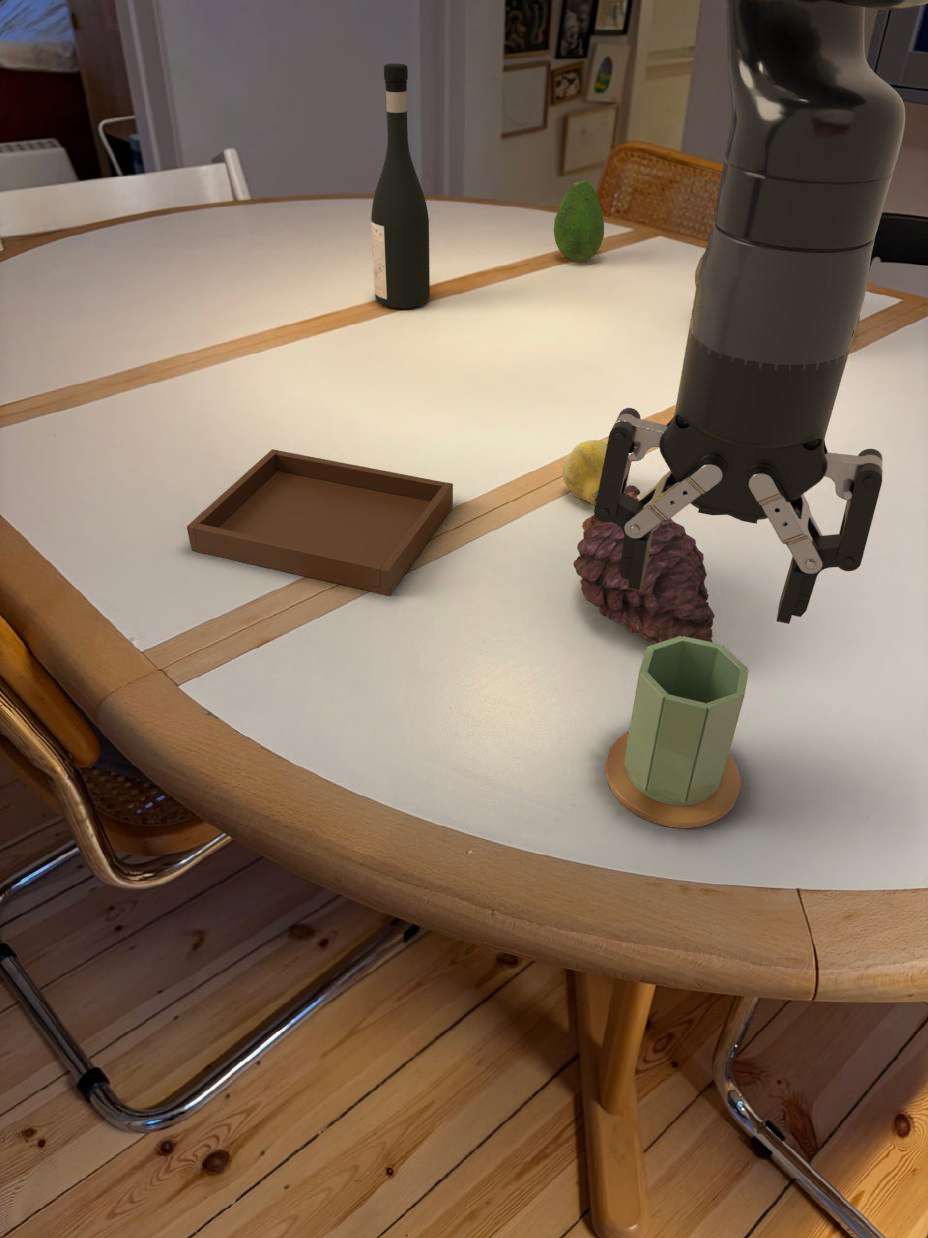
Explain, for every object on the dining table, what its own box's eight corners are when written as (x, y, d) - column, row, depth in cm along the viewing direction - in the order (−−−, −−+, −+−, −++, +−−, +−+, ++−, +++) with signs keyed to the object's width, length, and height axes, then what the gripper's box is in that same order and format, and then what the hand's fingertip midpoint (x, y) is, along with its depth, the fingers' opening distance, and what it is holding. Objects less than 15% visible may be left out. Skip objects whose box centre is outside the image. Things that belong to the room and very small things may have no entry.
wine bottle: (371, 310, 133) (359, 68, 115) (378, 291, 139) (368, 59, 121) (427, 311, 133) (424, 69, 114) (432, 293, 139) (430, 60, 121)
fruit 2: (595, 533, 88) (541, 473, 94) (641, 532, 91) (586, 474, 97) (621, 482, 84) (564, 423, 90) (668, 483, 88) (609, 426, 94)
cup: (616, 791, 62) (632, 691, 56) (635, 727, 67) (652, 628, 61) (713, 817, 60) (740, 716, 55) (726, 749, 65) (752, 651, 59)
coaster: (591, 806, 62) (592, 800, 61) (620, 717, 68) (621, 711, 68) (730, 844, 59) (731, 838, 59) (745, 748, 66) (747, 742, 66)
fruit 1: (578, 250, 156) (585, 172, 149) (610, 262, 151) (619, 183, 144) (542, 258, 153) (547, 179, 145) (573, 271, 148) (580, 190, 140)
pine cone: (762, 649, 74) (750, 596, 66) (654, 712, 76) (629, 668, 67) (652, 496, 84) (629, 433, 75) (557, 555, 85) (524, 498, 76)
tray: (191, 550, 85) (186, 526, 83) (275, 471, 96) (272, 448, 95) (389, 595, 80) (388, 570, 78) (453, 506, 91) (453, 483, 90)
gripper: (606, 333, 43) (574, 608, 54) (932, 381, 40) (833, 667, 50) (638, 283, 49) (604, 541, 59) (927, 321, 45) (838, 589, 55)
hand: (709, 598), depth 54 cm, fingers open, 8 cm apart
